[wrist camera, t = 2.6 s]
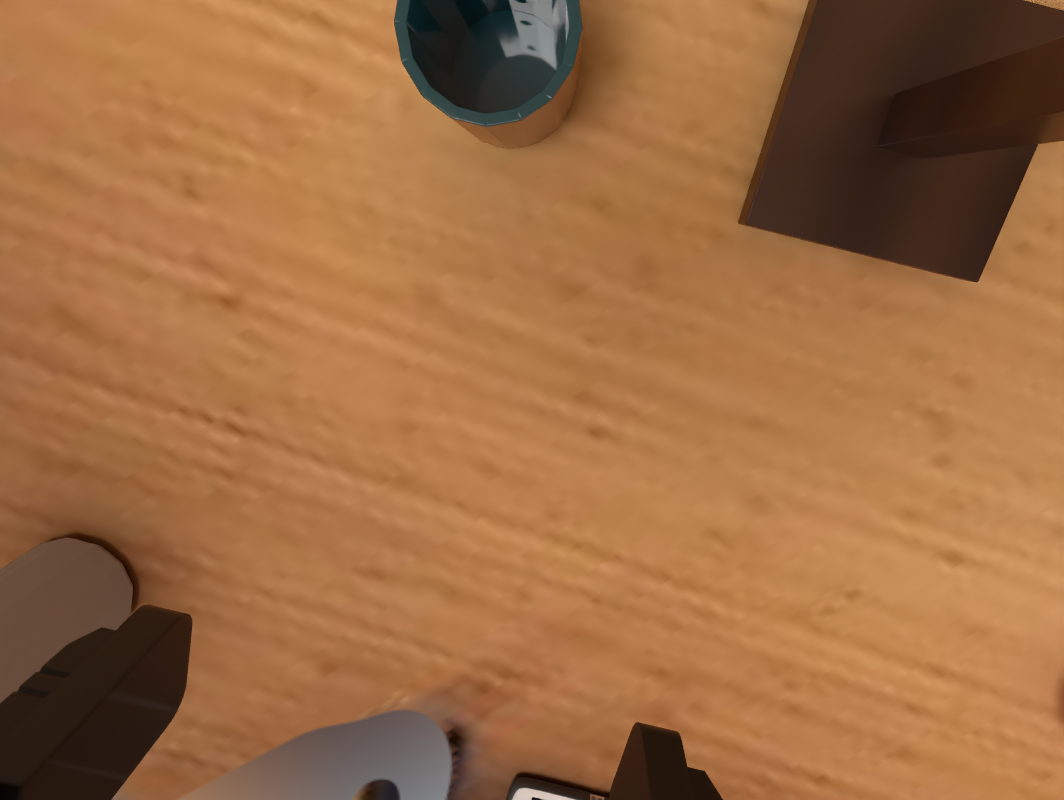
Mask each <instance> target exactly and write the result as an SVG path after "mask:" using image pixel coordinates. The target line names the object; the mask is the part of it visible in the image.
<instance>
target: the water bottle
mask: <svg viewBox="0 0 1064 800" xmlns="http://www.w3.org/2000/svg"><path fill="white" fill-rule="evenodd" d="M132 594H133V584H132V582H131V580H130V578H129V576H128V574H127V572H126V570H125V568H124V566H123V564H122V562H120V561H119V560H118V559H117V558H115V557H114V556H113V555H112V554H110V553H109V552H108V551H107V550H105V549H104V548H103V547H102V546H100V545H97V544H93V543H89V542H85V541H81V540H78V539H73V538H62V539H58V540H54V541H50V542H46V543H42V544H39V545H38V546H36V547H35V548H33V549H31V550H30V551H28V552H27V553H25V554H24V555H22V556H21V557H19V558H17V559H16V560H14V561H13V562H11V563H10V564H8V565H7V566H5V567H3V568H2V569H0V703H1V702H2V701H3V700H5V699H6V698H7V697H8V696H9V695H10V694H11V693H13V692H14V691H15V692H17V691H18V689H19V687H20V685H22V684H23V683H24V682H25V681H26V680H27V679H28V678H30V677H31V676H32V675H33V674H34V673H35V672H39V671H40V670H41V667H42V666H43V665H44V664H45V663H47V662H48V661H49V660H50V659H51V658H52V657H53V656H55V655H56V654H57V653H58V652H59V651H60V650H61V649H62V648H64V647H65V646H66V645H67V644H69V643H71V642H73V641H75V640H77V639H79V638H81V637H83V636H85V635H87V634H89V633H91V632H93V631H95V630H97V629H99V628H101V627H103V628H108V629H112V630H116V629H117V628H118V627H119V626H120V625H121V624H122V623H123V622H124V621H125V620H126V619H127V618H128V617H129V615H130V614H131V605H132Z"/></svg>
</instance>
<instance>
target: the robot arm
mask: <svg viewBox="0 0 1064 800" xmlns="http://www.w3.org/2000/svg"><path fill="white" fill-rule="evenodd" d="M191 633H192V618H191V616H190V615H189V614H186V613H181V612H177V611H173V610H169V609H165V608H160V607H156V606H152V605H144V606H142V607H140V608H139V609H138V610H137V611H136V612H135V613H134V614H133V615H132V616H130V617H129V618H128V619H127V620H126V621H125V622H124V623H123V624H122V625H121V626H120V627H119V628H118V629H117V630H112V629H108V628H103V627H101V628H99V629H97V630H95V631H93V632H91V633H89V634H87V635H85V636H83V637H81V638H79V639H77V640H75V641H73V642H71V643H69V644H67V645H66V646H65V647H64V648H62V649H61V650H60V651H59V652H58V653H57V654H56V655H55V656H53V657H52V658H51V659H50V660H49V661H48V662H47V663H45V664H44V665H43V666H42V667H41V670H40V671H39V672H35V673H34V674H33V675H32V676H31V677H30V678H28V679H27V680H26V681H25V682H24V683H23V684H22V685H20V687H19V689H18V691H17V692H15V691H14V692H13V693H11V694H10V695H9V696H8V697H7V698H6V699H5V700H3V701H2V702H1V703H0V800H111V799H112V798H113V797H114V795H115V794H116V793H117V791H118V790H119V789H120V788H121V786H122V785H123V784H124V782H125V781H126V780H127V778H128V777H129V776H130V774H131V773H132V772H133V771H134V769H135V768H136V767H137V765H138V764H139V763H140V761H141V760H142V759H143V758H144V756H145V755H146V754H147V752H148V751H149V750H150V748H151V747H152V746H153V744H154V743H155V742H156V741H157V739H158V738H159V737H160V735H161V734H162V733H163V731H164V730H165V729H166V727H167V726H168V725H169V723H170V722H171V721H172V719H173V717H174V716H175V714H176V712H177V710H178V708H179V706H180V703H181V701H182V698H183V696H184V692H185V688H186V683H187V673H188V663H189V653H190V643H191ZM609 800H723V799H722V798H721V796H720V794H719V793H718V791H717V790H716V788H715V787H714V785H713V783H712V782H711V780H710V779H709V777H708V776H707V774H706V772H705V771H702V770H698V769H693V768H689V767H687V763H686V759H685V754H684V749H683V744H682V740H681V736H680V734H679V733H678V732H677V731H673V730H669V729H664V728H660V727H656V726H652V725H648V724H643V723H639V722H636V723H635V724H634V726H633V728H632V730H631V733H630V736H629V738H628V741H627V744H626V747H625V750H624V753H623V755H622V758H621V761H620V764H619V767H618V769H617V772H616V775H615V778H614V781H613V784H612V787H611V790H610V795H609Z"/></svg>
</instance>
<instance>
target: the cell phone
mask: <svg viewBox="0 0 1064 800" xmlns="http://www.w3.org/2000/svg"><path fill="white" fill-rule="evenodd" d="M507 800H609V798H608V797H604V796H600V795H596V794H592V793H590V792H586V791H582V790H578V789H574V788H570V787H566V786H562V785H558V784H554V783H550V782H546V781H542V780H538V779H534V778H526V777H519V778H517V779H516V780H515V781H514V782H513V784H512V785H511V788H510V790H509V793H508V797H507Z"/></svg>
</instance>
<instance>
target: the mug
mask: <svg viewBox="0 0 1064 800" xmlns="http://www.w3.org/2000/svg"><path fill="white" fill-rule="evenodd" d="M394 22H395V23H394V26H395V31H396V36H397V41H398V46H399V51H400V57H401V61H402V64H403V66H404V67H405V69H406V71H407V72H408V74H409V75H410V77H411V79H412V80H413V82H414V84H415V85H416V87H417V89H418V90H419V92H420V94H421V95H422V96H423V97H424V98H425V99H426V100H428V101H429V102H430V103H432V104H433V105H434V106H436V107H437V108H438V109H440V110H441V111H442V112H443V113H445V114H446V115H447V116H449V117H450V118H451V119H453V120H454V121H455V122H457V123H458V124H459V125H461V126H462V127H463V128H465V129H466V130H467V131H469V132H470V133H471V134H473V135H474V136H475V137H477V138H478V139H479V140H481V141H482V142H484V143H488V144H491V145H494V146H497V147H503V148H521V147H525V146H529V145H532V144H535V143H537V142H539V141H541V140H542V139H544V138H546V137H547V136H548V135H550V134H551V133H552V132H553V131H554V130H555V129H557V127H558V126H559V125H560V124H561V122H562V121H563V120H564V118H565V117H566V115H567V113H568V112H569V110H570V108H571V106H572V103H573V99H574V96H575V91H576V86H577V82H578V75H579V63H580V52H581V40H582V27H583V26H582V17H581V9H580V1H579V0H397V6H396V12H395V18H394Z"/></svg>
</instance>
